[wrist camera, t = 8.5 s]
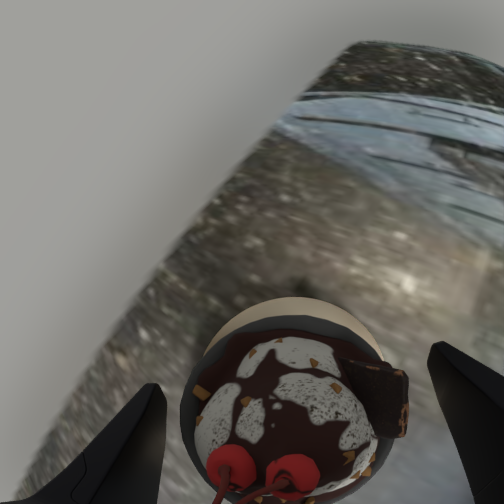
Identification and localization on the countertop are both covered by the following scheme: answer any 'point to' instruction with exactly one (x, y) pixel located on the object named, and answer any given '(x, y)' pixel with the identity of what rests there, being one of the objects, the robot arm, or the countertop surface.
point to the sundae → (291, 412)
